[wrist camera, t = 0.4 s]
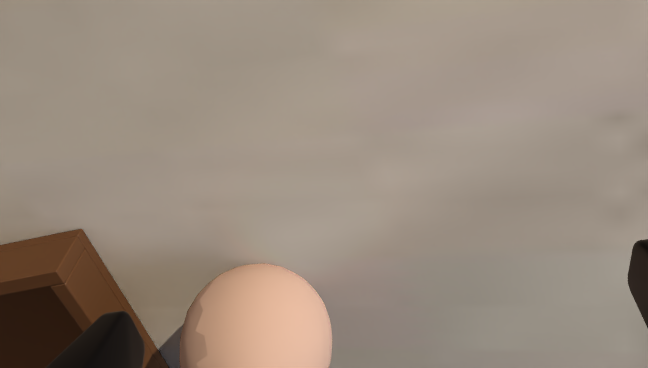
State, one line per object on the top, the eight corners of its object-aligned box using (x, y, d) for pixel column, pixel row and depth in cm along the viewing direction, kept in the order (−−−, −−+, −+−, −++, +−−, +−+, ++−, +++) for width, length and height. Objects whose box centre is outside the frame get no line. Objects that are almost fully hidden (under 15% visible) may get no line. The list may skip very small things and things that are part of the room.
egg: (250, 344, 31) (230, 491, 24) (169, 268, 28) (118, 413, 21) (355, 298, 29) (366, 444, 22) (282, 210, 25) (268, 349, 19)
